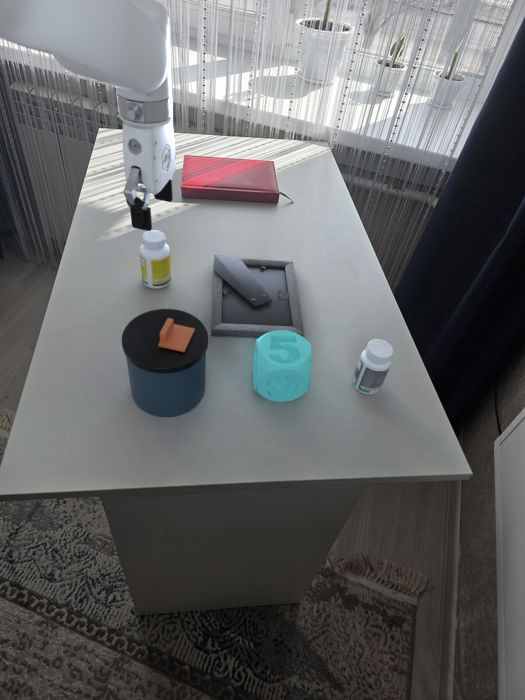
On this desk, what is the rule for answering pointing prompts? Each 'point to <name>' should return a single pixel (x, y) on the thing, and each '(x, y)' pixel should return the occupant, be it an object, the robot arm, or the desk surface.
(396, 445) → the desk surface
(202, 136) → the desk surface
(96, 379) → the desk surface
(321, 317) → the desk surface
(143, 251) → the supplement bottle
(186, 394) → the travel mug
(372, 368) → the pill bottle
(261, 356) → the decorative dice
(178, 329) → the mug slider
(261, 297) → the picture frame
